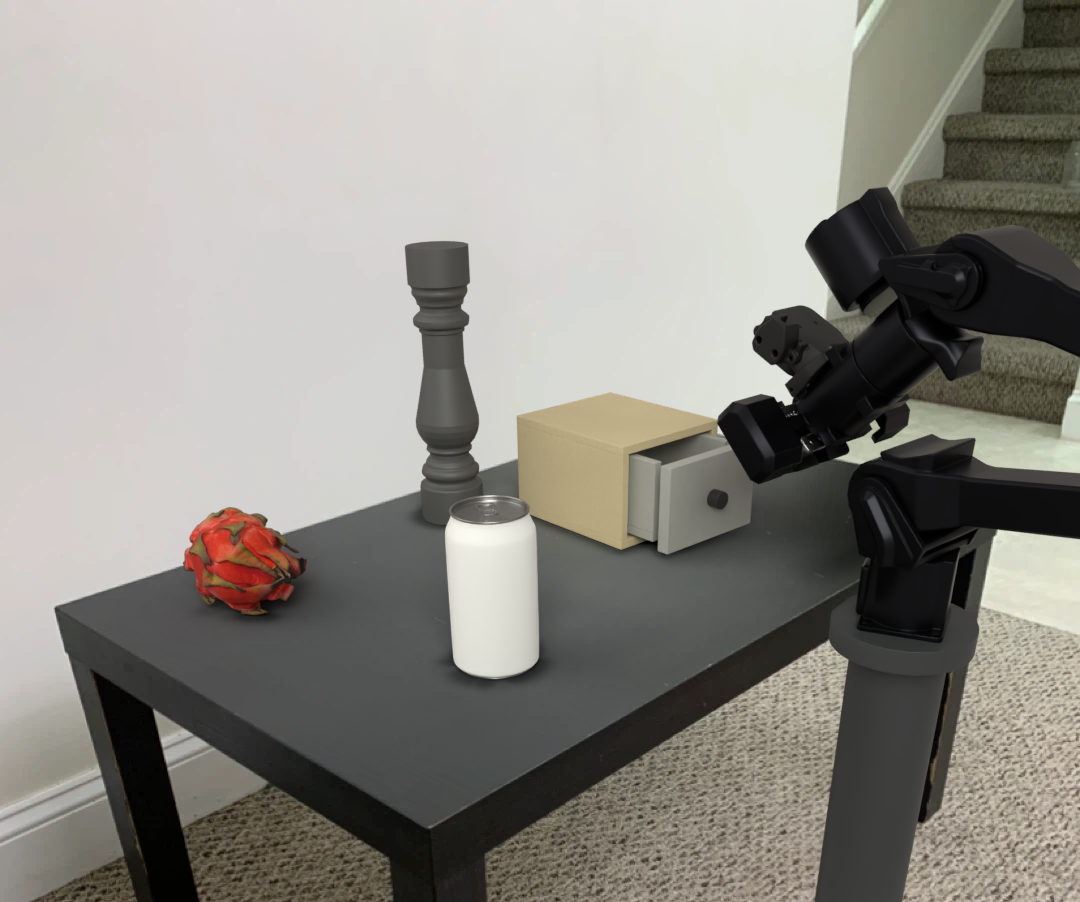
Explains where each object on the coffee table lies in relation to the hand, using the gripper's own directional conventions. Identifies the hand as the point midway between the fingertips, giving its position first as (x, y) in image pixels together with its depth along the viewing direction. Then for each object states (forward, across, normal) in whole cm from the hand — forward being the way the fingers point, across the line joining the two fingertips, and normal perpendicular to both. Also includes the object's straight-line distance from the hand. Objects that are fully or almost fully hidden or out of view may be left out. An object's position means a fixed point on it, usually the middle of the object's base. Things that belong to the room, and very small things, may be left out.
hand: (753, 475), depth 94 cm
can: (+6, +29, +6) cm, 30 cm away
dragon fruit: (+22, +37, -10) cm, 44 cm away
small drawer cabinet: (+18, 0, -6) cm, 19 cm away
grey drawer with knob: (+12, 0, -3) cm, 13 cm away
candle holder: (+25, +12, -14) cm, 31 cm away
